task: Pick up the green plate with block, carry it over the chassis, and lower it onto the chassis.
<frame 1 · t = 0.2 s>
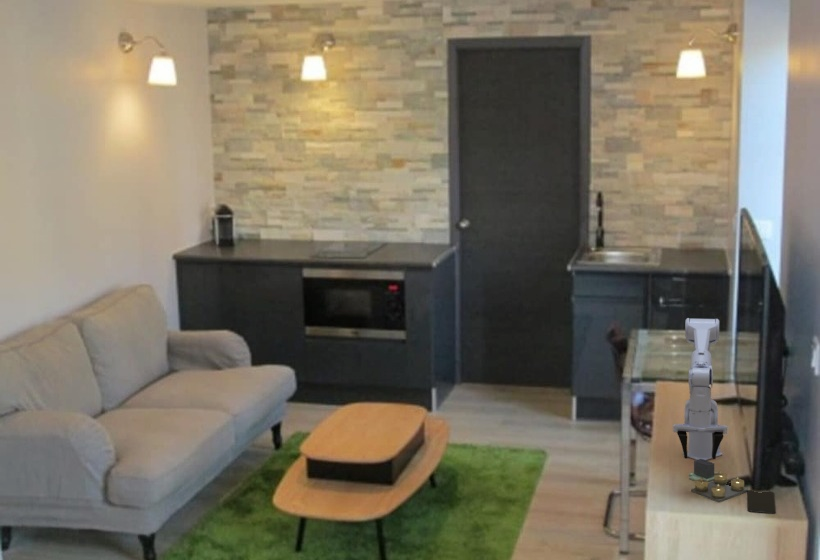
hand: (699, 457, 307), 10 cm above the table, tool pointing down, fingers open, 7 cm apart
green plate with block: (704, 477, 320), on the table
chassis: (719, 491, 310), on the table
smartphone: (761, 504, 301), on the table
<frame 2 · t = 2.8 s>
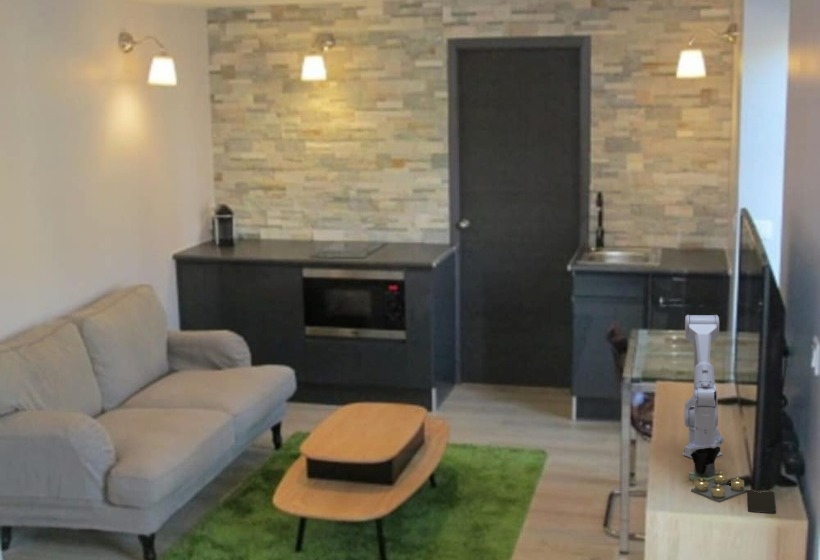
hand: (704, 471, 320), 2 cm above the table, tool pointing down, fingers closed on green plate with block, 3 cm apart
green plate with block: (704, 476, 320), on the table, touching gripper
everything else where it was.
when the fingers open (5 cm above the table, at t = 7.0 s): green plate with block stays where it is, resting on chassis.
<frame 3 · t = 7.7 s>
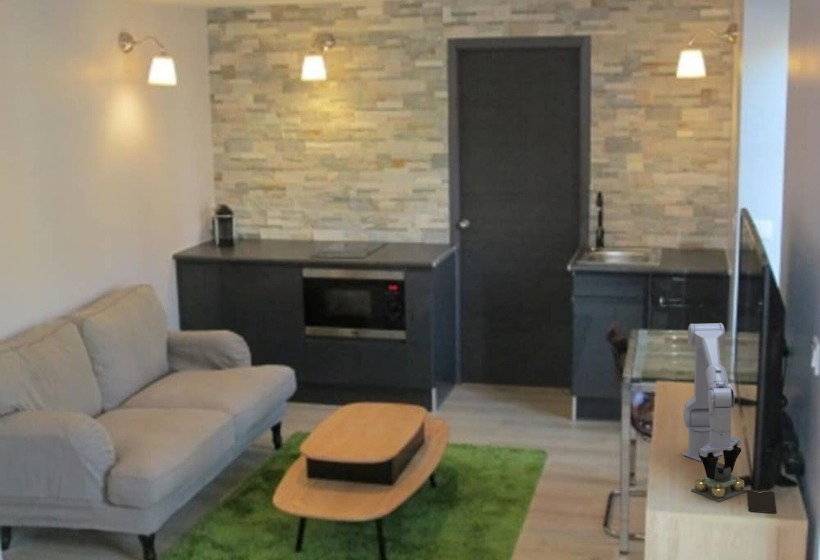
hand: (719, 474, 309), 5 cm above the table, tool pointing down, fingers open, 7 cm apart
green plate with block: (720, 481, 309), point 3 cm above the table, touching chassis
everything else where it was.
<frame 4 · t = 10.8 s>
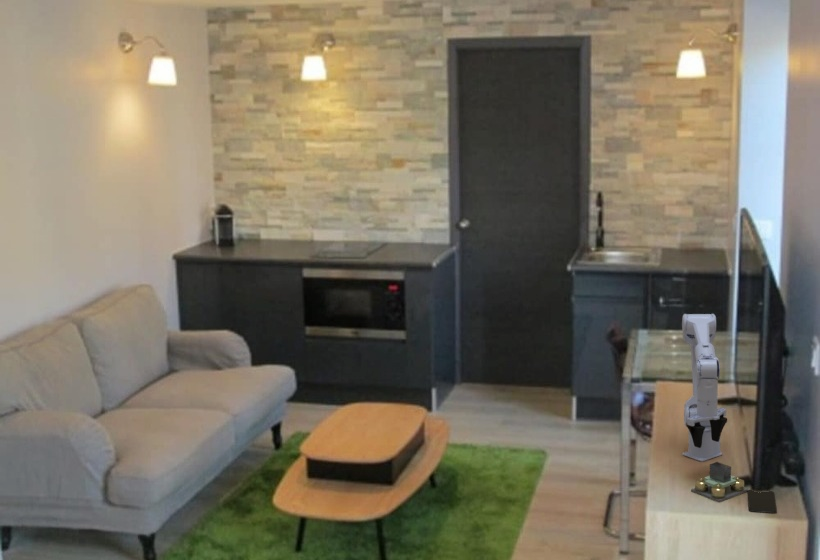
hand: (706, 443, 320), 9 cm above the table, tool pointing down, fingers open, 7 cm apart
nothing on the table moved.
at the end: green plate with block 0.2 cm off-centre on the chassis, point 3.0 cm above the chassis's base; green plate with block tilted 0°; the gripper is holding nothing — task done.
